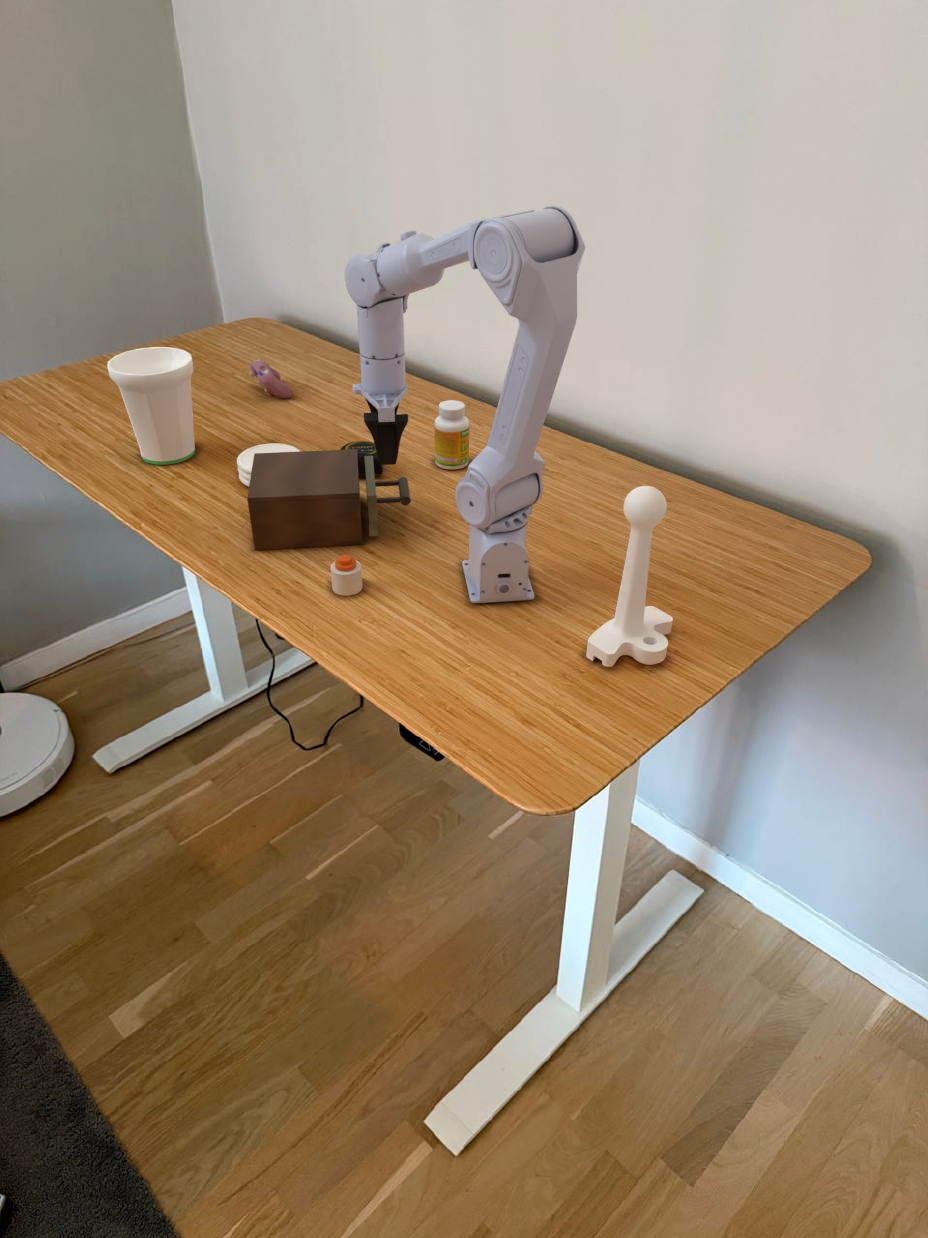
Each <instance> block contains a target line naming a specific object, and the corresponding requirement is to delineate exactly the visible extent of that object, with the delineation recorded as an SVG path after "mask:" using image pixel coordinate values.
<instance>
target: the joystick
mask: <svg viewBox="0 0 928 1238" xmlns="http://www.w3.org/2000/svg"><path fill="white" fill-rule="evenodd" d="M667 504H668V503H667V499H666V497H665V495H664V494H663V493H662V492H661V490H660V489H658V488H656V487H654V486H651V485H640V486H637V487H635V488H633V489H632V490H631V491H630V492H628V494H627V495H626V497H625V499H624V502H623V514H624V517H625V518H626V520H627V521H628V522H629V525H630V533H629V539H628V544H627V549H626V554H625V555H626V556H625V559H624V565H623V571H622V576H621V580H620V586H619V592H618V597H617V602H616V608H615V613H614V617H613V618H611V619H609V620H607V621H606V622H605V623H603V624H602V625H600V627H598V628H597V629H596V630H595V631H593V633H592V634H591V635H590V636H589V637H588V638H587V645H586V653H585V655H586V659H588V660H590V661H591V662H594V660H595V659H596V658H597V659H598V660H600V661H601V665H602V666H604V667H607V668H610V667H614V665H615V664H616V662H617V660H619V658H621V656H629V657H632V658H633V659H634V661H637V662H638V663H640V664H642V665H649V666H651V665H652V666H653V665H657V664H660V663H663V661H664V660H665V659H666V657H667V653H668V647H669V646H668V645H669V640H668V638H667V637H666V636H665V635H669V634H671V633H672V627H673V623H674V618H673V617H672V616H671V615H669V613H666V612H664V611H663V610H661V609H659V608H657V607H656V606H653V605H647V606H646V599H647V588H648V580H649V579H648V578H649V568H650V560H651V559H650V558H651V549H652V540H653V539H652V537H653V530H654V528H655V527H656V526H657V525H659V524H660V523H661V522H662V521H663V520H664V518H665V516H666V514H667V511H668V510H667V509H668V505H667Z"/></svg>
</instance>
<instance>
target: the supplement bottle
mask: <svg viewBox="0 0 928 1238" xmlns="http://www.w3.org/2000/svg"><path fill="white" fill-rule="evenodd" d="M465 414H466V405H465V403H464V402H462V401H461V400H455V399H449V400H444V401H441V402H440V403H439V404H438V416H437V417H436V418H435V420H434V463H435V465H436V466H438V468H440V469H443V470H461V469H463V468H466V467H468V465H469V462H470V420H469V418H468V417H467V416H466V415H465Z"/></svg>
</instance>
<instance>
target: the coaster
mask: <svg viewBox="0 0 928 1238" xmlns="http://www.w3.org/2000/svg"><path fill="white" fill-rule="evenodd" d="M300 451H301V450H300V449H299V448H297V447H295V446H294V445H291V444H286V443H274V442H273V443H261V444H258V445H254V446H251V447H248V448H246V449H244V450H243V451H242V452H241V453H240V454H238V456H237V458H236V465H237V472H238V478H239V481H240V482H241V483H242V484H243V486H244V485H245V486H246V487H247V488H249V484H250V478H251V471H252V465H253V459H254V454H255V453H277V452H300Z"/></svg>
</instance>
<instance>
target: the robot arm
mask: <svg viewBox="0 0 928 1238" xmlns="http://www.w3.org/2000/svg"><path fill="white" fill-rule="evenodd" d="M399 237H400V240H398V241H397V242H394V243H390V242H384V243H380V244H378V245H377V247H376V248H377V251H375V252H371V253H366V254H354V255H353V256H352V258H350V259H349V260H348V261H347V263H346V264H345V268H344V283H345V287H346V290H347V293H348V294H349V297H350V299H351V300H352V301H353V302H354V303H355V304H356V317H357V319H356V320H357V330H358V331H357V333H358V347H359V348H358V350H359V351H358V352H359V365H360V368H359V369H360V382H361V383H353V384H352V393H353V395H361V396H363V397H364V399H365V401H366V403H367V406H368V408H369V411H370V412H363V422H364V424H365V426H366V428H367V429H368V431H369V433H370V435H371V437H372V439H373V443H375V447H376V452H377V456H378V460H379V462H380V465H383V466H388V465H389V466H390V465H392V466H393V465H396V464H397V461H398V457H399V450H400V444H401V440H402V435H403V433H404V431H405V429H406V427H407V425H408V423H409V415H408V413H401V414H399V413H398V409H399V406H400V404H401V403H400V402H401V401H402V400H403V398H405V396H406V394H407V393H408V384H407V383H406V380H407V379H406V352H405V348H406V347H405V322H404V316H405V315H404V314H405V313H406V312H407V310H408V299H409V296H410V294H413V293H416V292H419V291H422V290H424V289H427V288H430V287H434V286H435V285H437V284H438V283H440V281H441V280H442V278H443V277H444V273H445V269H449V268H452V267H454V266H458V265H461V264H465V263H468V262H469V265H470V268H471V269H472V270H478V272H479V273H480V274H479V275H481V277H482V278H483V280H484V282H485V283H486V284H487V285H488V287H489V289H490V290H491V291H492V293H493V294H494V296H495V297H496V298H497V300H498V301H499V303H500V304H501V305H502V307H503V308H504V310H505V311H506V313H507V314H508V315H509V316H511V317H513V318H515V319H517V320H518V329H517V332H516V336H515V340H514V343H513V348H512V351H511V355H510V358H509V362H508V366H507V369H506V373H505V378H504V381H503V384H502V388H501V391H500V395H499V399H498V402H497V406H496V410H495V413H494V417H493V421H492V426H491V429H490V432H489V437H488V441H487V444H486V446H485V447H484V448H483V449H482V450H481V451H480V452H479V453H478V454H477V455H476V456H475V457H474V458H473V460H472V461H470V463H468V465H467V470H466V473H465V475H464V476H463V477H462V478H461V479H460V480H459V481H458V482H457V484H456V487H455V493H454V495H455V496H454V497H455V498H454V499H455V504H456V507H457V510H458V513H459V515H460V516H461V517H462V518H463V519H464V521H465V522H466V523H467V524H468V559H465V560H464V559H463V561H462V562H461V566H462V570H463V575H464V579H465V582H466V587H467V592H468V597H469V601H470V603H472V604H485V603H501V602H502V603H503V602H518V601H532V600H534V599H535V592H534V590H533V586H532V583H531V581H530V577H529V563H530V557H529V552H528V549H527V546H528V545H527V544H528V527H529V526H528V525H529V517H530V515H533V505H535V504H537V503H538V502H540V500H541V498H542V496H543V492H544V481H543V474H544V469H545V466H546V462H545V460H544V459H543V458H542V456H541V455H540V453H539V452H537V450H536V449H537V447H538V443H539V441H540V437H541V434H542V430H543V428H544V425H545V421H546V418H547V415H548V412H549V409H550V406H551V402H552V399H553V396H554V393H555V389H556V387H557V385H558V381H559V377H560V374H561V371H562V368H563V365H564V362H565V358H566V355H567V353H568V349H569V346H570V343H571V340H572V336H573V333H574V330H575V327H576V323H577V320H578V273H579V270H580V267H581V265H582V260H583V257H584V254H585V252H586V251H585V250H586V244H585V242H584V240H583V238H582V235H581V233H580V230H579V227H578V225H577V223H576V221H575V219H574V217H573V216H572V214H571V213H570V212H569V211H568V210H566V209H565V208H564V207H562V206H558V205H549V206H546V207H544V208H541V209H538V210H536V209H533V210H531V209H530V210H523V211H519V212H513V213H507V214H500V215H494V216H490V217H485V218H479V219H475V220H471V221H470V222H467V223H465V224H463V225H460V226H459V227H457V228H455V229H452V230H450V231H448V232H446V233H445V234H442V235H440V236H438V237H436V238H433V237H432V236H431V235H429V234H426V233H423V232H422V233H421V232H420V233H418V232H417V231H416V230H415V229H414V230H409V231H405V232H402V233H400V235H399Z"/></svg>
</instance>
